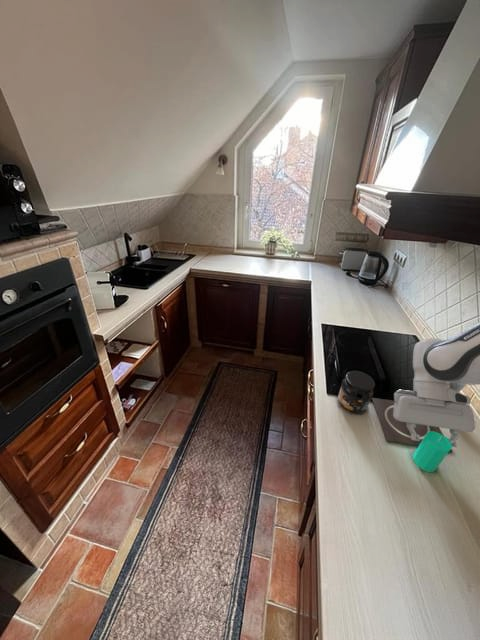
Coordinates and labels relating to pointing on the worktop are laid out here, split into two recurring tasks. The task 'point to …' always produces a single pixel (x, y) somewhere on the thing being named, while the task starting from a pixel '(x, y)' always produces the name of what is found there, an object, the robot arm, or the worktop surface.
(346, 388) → the supplement container
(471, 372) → the robot arm
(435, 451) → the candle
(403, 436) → the brown square pad
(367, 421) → the worktop surface
